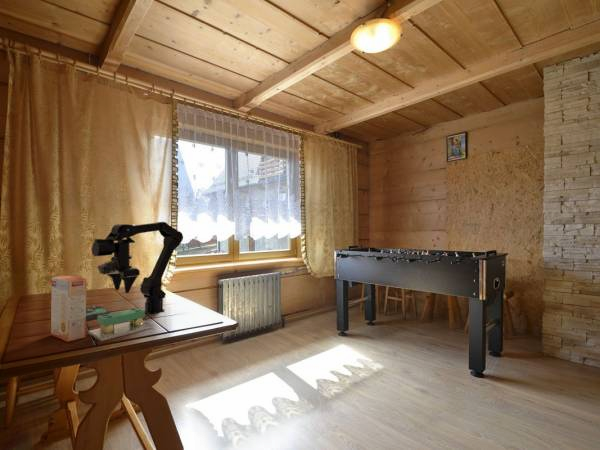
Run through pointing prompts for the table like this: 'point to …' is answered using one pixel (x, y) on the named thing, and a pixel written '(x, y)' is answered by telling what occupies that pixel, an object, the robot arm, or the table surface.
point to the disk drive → (95, 312)
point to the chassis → (120, 329)
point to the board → (120, 316)
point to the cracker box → (68, 308)
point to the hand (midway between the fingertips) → (122, 291)
